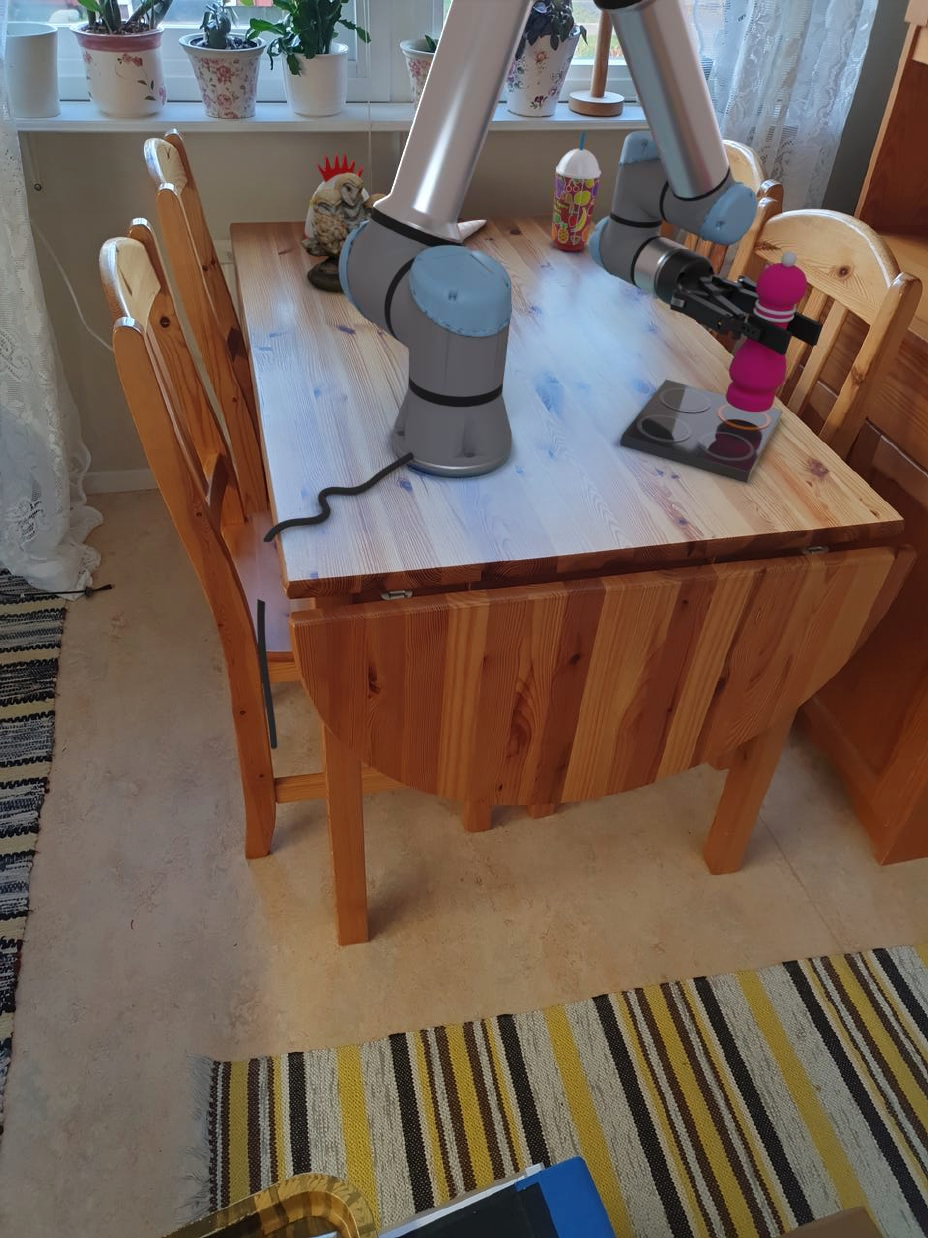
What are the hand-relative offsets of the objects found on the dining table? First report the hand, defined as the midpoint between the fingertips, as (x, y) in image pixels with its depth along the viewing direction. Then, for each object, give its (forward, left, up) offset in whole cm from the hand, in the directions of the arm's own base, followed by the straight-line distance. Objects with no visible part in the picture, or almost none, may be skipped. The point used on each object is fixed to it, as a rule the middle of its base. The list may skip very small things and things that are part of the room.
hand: (802, 339), depth 115 cm
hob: (-2, +9, -15) cm, 17 cm away
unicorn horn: (+44, +71, -15) cm, 85 cm away
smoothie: (+55, +52, -15) cm, 77 cm away
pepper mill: (+3, +5, -11) cm, 12 cm away
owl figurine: (+16, +76, -15) cm, 79 cm away
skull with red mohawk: (+31, +88, -15) cm, 94 cm away
